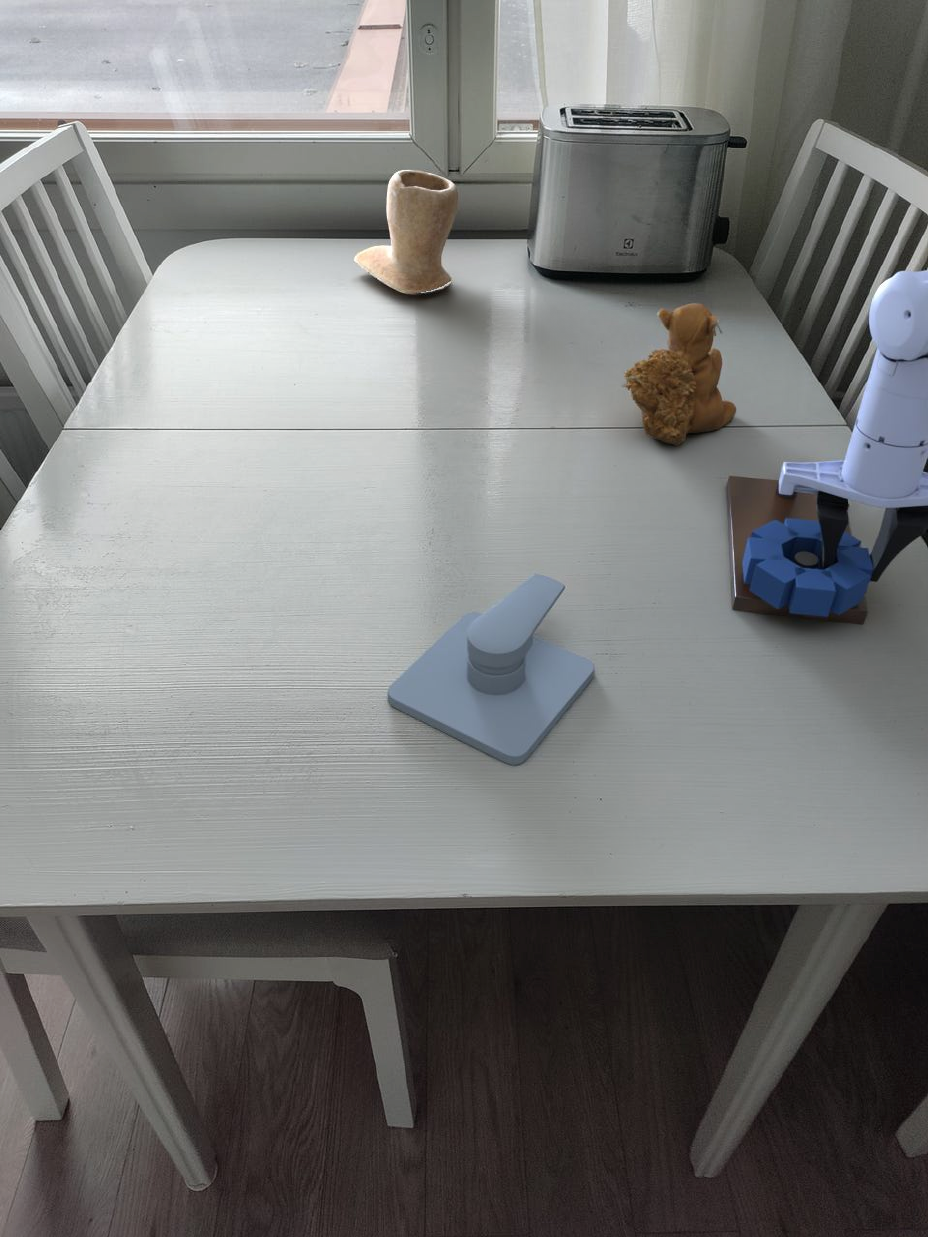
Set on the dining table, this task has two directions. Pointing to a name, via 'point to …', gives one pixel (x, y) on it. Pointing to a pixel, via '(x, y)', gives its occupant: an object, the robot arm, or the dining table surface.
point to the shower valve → (496, 676)
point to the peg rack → (755, 508)
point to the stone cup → (414, 233)
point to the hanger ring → (805, 569)
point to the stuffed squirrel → (681, 378)
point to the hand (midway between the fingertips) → (848, 571)
